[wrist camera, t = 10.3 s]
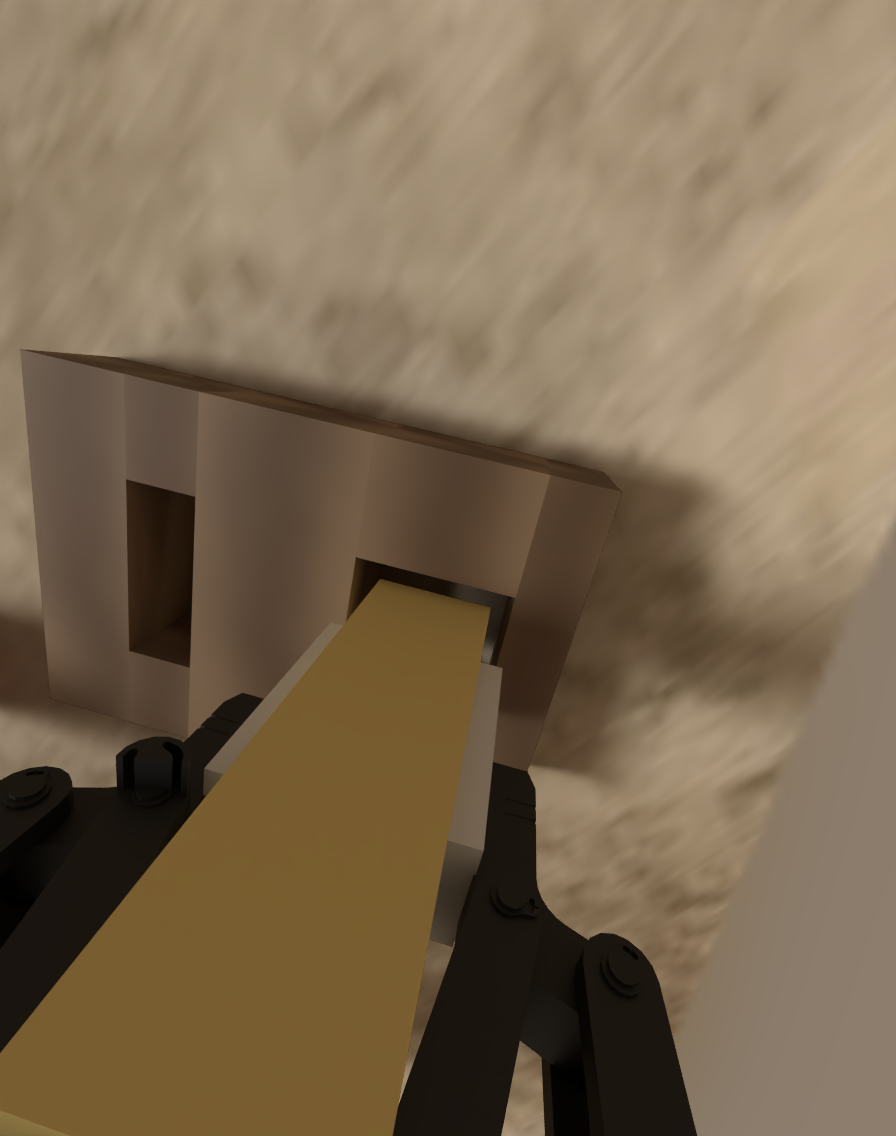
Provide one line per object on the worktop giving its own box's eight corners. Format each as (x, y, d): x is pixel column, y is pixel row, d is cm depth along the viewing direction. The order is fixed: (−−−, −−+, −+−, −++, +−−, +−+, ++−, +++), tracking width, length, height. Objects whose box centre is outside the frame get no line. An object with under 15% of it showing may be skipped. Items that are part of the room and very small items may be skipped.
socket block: (120, 653, 25) (50, 698, 22) (113, 357, 20) (20, 349, 17) (510, 762, 24) (507, 830, 20) (603, 472, 19) (622, 492, 15)
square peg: (363, 674, 19) (7, 1276, 6) (380, 578, 18) (-35, 1096, 5) (465, 702, 19) (319, 1394, 6) (490, 607, 18) (373, 1243, 4)
